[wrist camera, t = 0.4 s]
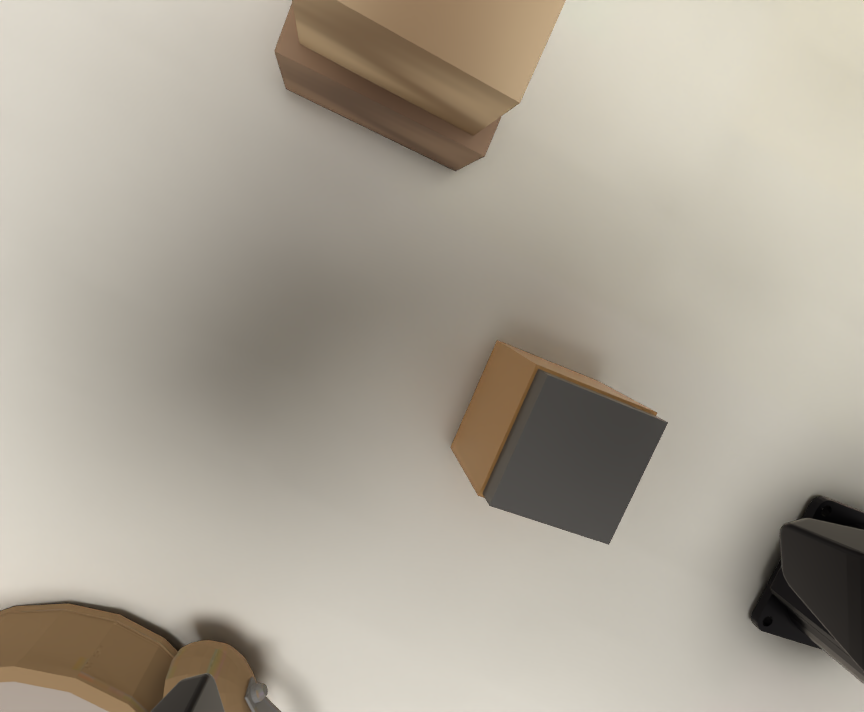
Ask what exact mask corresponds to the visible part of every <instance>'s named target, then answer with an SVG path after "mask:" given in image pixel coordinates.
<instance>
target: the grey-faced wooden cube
mask: <svg viewBox="0 0 864 712" xmlns="http://www.w3.org/2000/svg"><path fill="white" fill-rule="evenodd" d="M656 414H657V412H655V411H653V410H651V409H649V408H647V407H646V406H644V405H642V404H640V403H638V402H636V401H634V400H633V399H631V398H629V397H627V396H625V395H623V394H621V393H619V392H618V391H616V390H614V389H612V388H610V387H608V386H606V385H605V384H603V383H601V382H599V381H597V380H594V379H592V378H589V377H587V376H585V375H582V374H580V373H577V372H575V371H572V370H570V369H567V368H565V367H562V366H560V365H557V364H555V363H552V362H550V361H547V360H545V359H543V358H540V357H538V356H535V355H533V354H530V353H528V352H525V351H523V350H520V349H518V348H515V347H513V346H510V345H508V344H505V343H503V342H501V341H498V340H497V341H496V344H495V346H494V348H493V351H492V353H491V355H490V358H489V360H488V362H487V364H486V367H485V369H484V371H483V374H482V376H481V378H480V381H479V383H478V385H477V388H476V390H475V392H474V394H473V397H472V399H471V401H470V404H469V406H468V408H467V411H466V413H465V415H464V417H463V420H462V422H461V424H460V427H459V429H458V431H457V434H456V436H455V438H454V440H453V443H452V445H451V449H452V451H453V453H454V454H455V456H456V458H457V460H458V461H459V463H460V465H461V467H462V468H463V470H464V472H465V474H466V475H467V477H468V479H469V481H470V482H471V484H472V486H473V488H474V489H475V491H476V493H477V495H478V496H481V497H484V498H485V499H486V501H487V502H488V504H489V506H492V507H495V508H498V509H501V510H504V511H507V512H511V513H514V514H517V515H520V516H523V517H526V518H529V519H532V520H535V521H538V522H541V523H544V524H547V525H550V526H554V527H557V528H560V529H563V530H566V531H569V532H572V533H575V534H578V535H581V536H584V537H587V538H590V539H593V540H596V541H600V542H603V543H606V544H609V543H610V541H611V539H612V537H613V535H614V533H615V531H616V529H617V527H618V525H619V523H620V521H621V519H622V517H623V514H624V512H625V510H626V508H627V506H628V504H629V502H630V500H631V498H632V496H633V494H634V492H635V490H636V488H637V485H638V483H639V481H640V479H641V477H642V475H643V473H644V471H645V469H646V467H647V465H648V463H649V461H650V459H651V456H652V454H653V452H654V450H655V448H656V446H657V444H658V442H659V440H660V438H661V436H662V434H663V432H664V430H665V427H666V425H667V423H668V422H666V421H664V420H662V419H660V418H659V417H657V416H656Z"/></svg>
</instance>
